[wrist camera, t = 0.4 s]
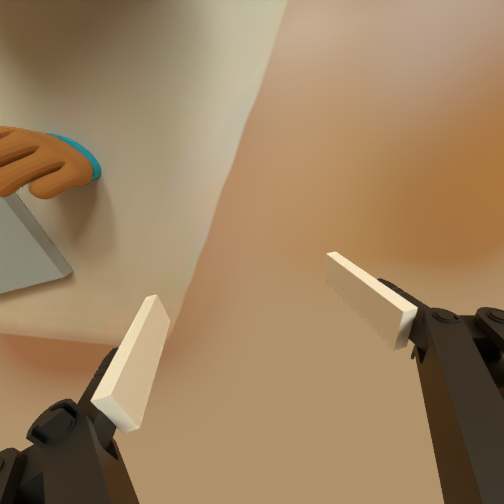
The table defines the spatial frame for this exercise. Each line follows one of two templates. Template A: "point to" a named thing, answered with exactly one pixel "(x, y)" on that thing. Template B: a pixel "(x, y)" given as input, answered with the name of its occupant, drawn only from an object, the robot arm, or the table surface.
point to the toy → (43, 163)
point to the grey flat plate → (25, 249)
